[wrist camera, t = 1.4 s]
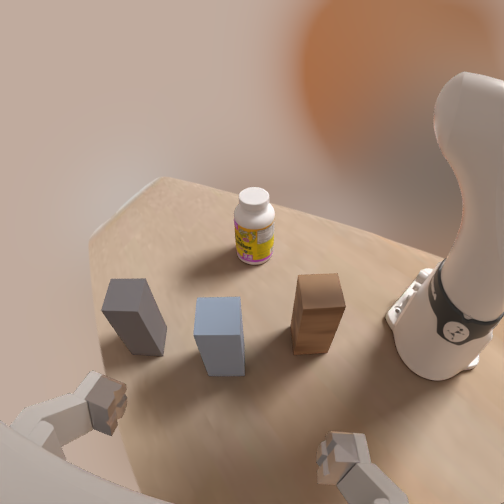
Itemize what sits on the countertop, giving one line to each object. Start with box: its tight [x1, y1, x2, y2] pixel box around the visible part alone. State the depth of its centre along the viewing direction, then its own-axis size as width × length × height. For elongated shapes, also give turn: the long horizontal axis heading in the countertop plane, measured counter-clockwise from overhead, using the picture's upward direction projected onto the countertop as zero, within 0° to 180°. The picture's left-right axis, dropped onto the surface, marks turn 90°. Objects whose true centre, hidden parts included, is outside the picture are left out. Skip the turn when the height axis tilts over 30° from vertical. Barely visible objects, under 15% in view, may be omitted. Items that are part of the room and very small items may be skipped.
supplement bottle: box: [234, 187, 275, 265], centre depth 53 cm, size 7×7×13 cm
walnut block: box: [291, 273, 346, 355], centre depth 41 cm, size 5×5×12 cm
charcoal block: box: [101, 279, 167, 356], centre depth 41 cm, size 5×5×12 cm
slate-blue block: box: [194, 297, 245, 376], centre depth 38 cm, size 5×5×12 cm
